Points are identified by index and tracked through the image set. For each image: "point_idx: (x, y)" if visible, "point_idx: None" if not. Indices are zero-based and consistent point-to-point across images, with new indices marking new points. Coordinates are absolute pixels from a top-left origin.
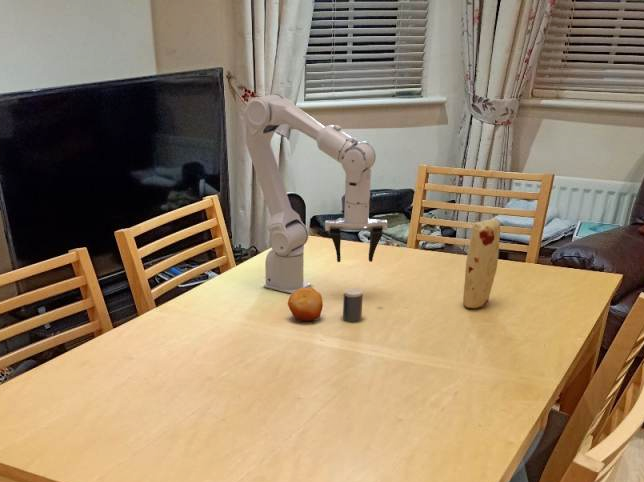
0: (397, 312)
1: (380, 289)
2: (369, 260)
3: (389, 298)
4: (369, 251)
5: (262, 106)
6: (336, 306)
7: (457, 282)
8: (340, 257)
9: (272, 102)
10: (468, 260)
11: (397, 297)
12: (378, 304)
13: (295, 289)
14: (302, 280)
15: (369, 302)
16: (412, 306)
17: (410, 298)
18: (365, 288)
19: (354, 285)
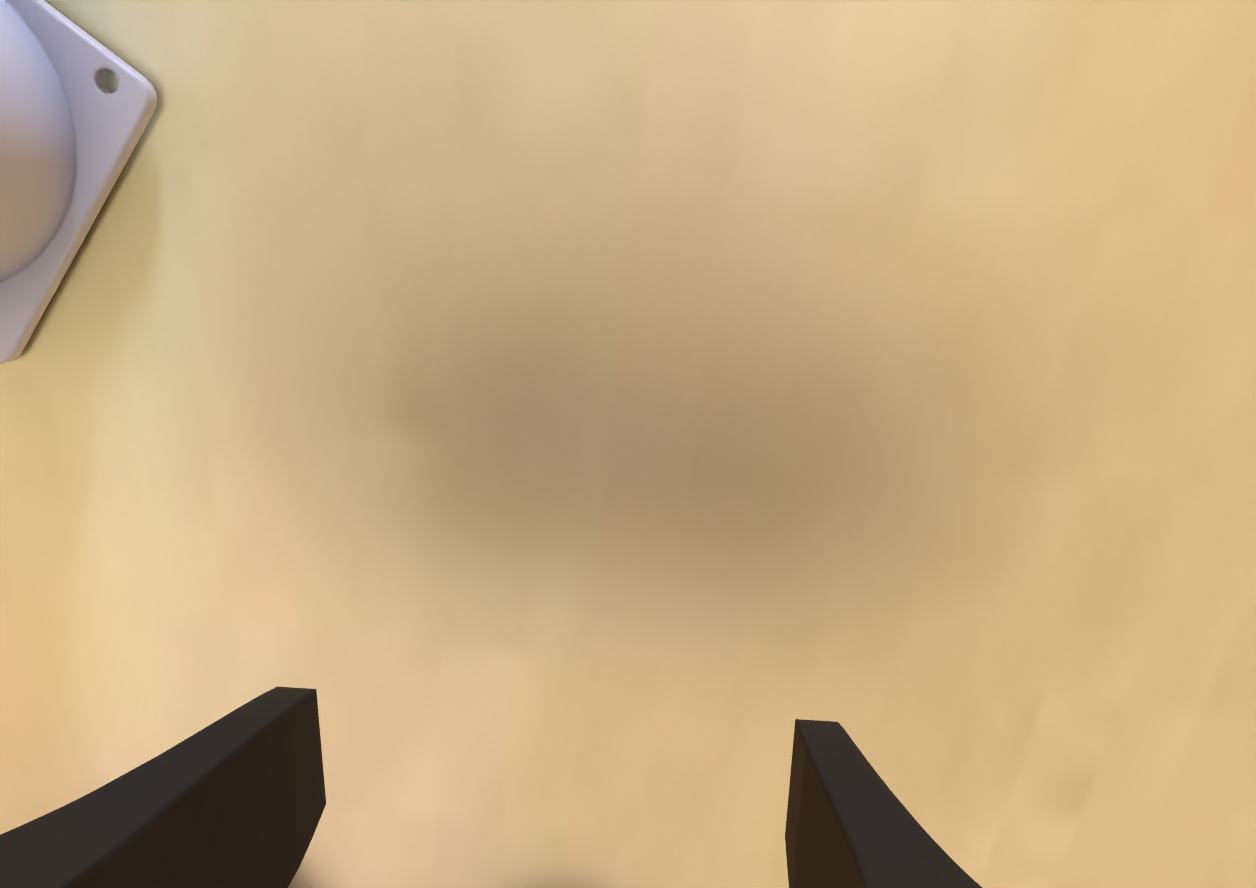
0: None
1: (958, 255)
2: (787, 851)
3: (984, 543)
4: (816, 838)
5: None
6: (443, 698)
7: None
8: (292, 878)
9: None
10: None
11: (1077, 522)
12: (835, 687)
13: (10, 281)
14: (19, 196)
15: (759, 631)
16: (1146, 763)
17: (1205, 561)
18: (791, 209)
19: (677, 88)
